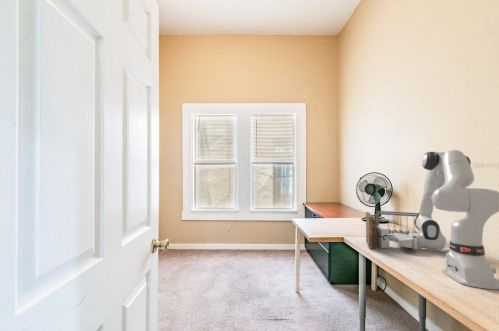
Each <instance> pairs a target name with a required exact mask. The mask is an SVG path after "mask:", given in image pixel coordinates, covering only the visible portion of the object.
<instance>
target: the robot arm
mask: <svg viewBox="0 0 499 331" xmlns="http://www.w3.org/2000/svg"><path fill="white" fill-rule="evenodd" d="M471 163H472V162H471V159H470V157H469V156H467V155H465V153H464V152H463V151H461V150H457V149H453V150H449V151H446V152H443V151H441V152H439V151H437V152H436V151H428V152H425V153H424V154H423V156H422V159H421V166H422V167H423V169H424V170H427V171H426V175H425V179H424V185H423V195H422V200H421V204H420V209H419V211H418V213H419V214H418V216H417V217H416V216H415V218H414V220H413V221H414V228H416V229H417V230H419V233H418V232H417V233H411V232H410V233H409V234H408V235H406V234H402V233H393V234H392V235H393V236H389V242H390V241H391V242H396V244H398V246H399V247H403V248H409V249H413V250H418V249H425V250H436V251H437V250H443V249H444V248H445V247H446V245H447V244H446V243H447V240H446V237H445V236H444V235H443V233H442V231H441V227H440V225H439V223H438V222H437V221H436V220H435V219H433V217H432V216H433V215H432V214H433V210H434V208H435V209H438V210H441V211H444V212H445V211H446V212H450V213H451V212H452V213H453V212H454V213H455V212H456V213H465V216H464V217H463V218H460V219H457V220H456V221H454V222H452V224H451V225H450V240H449V251H448V252H447V253H446V254H445V268H442V269H441V272H442V273H443V274H445V275H446V276H448V277H450V278H451V279H453V280H454V281H456V282H457V283H459V284H461V285H464V286H467V287H474V288H478V289H487V290H499V281H498V280H497V278H495V274H497V269H496V267H492V266H491V262H490V261H488V259H487V257H486V256H485V255H486V252H485V246H484V245H483V233H484V227H485V226H486V223H487V221H488V220H489V219H490V218H491V217H492V216H494V215H496V214H497V213H499V192H498V190H494V189H488V188H475V187H473V188H472V187H471V185H473V183H474V181H475V175H474V172H473V169H472V166H471ZM469 186H470V188H469Z"/></svg>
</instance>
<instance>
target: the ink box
mask: <svg viewBox="0 0 499 331" xmlns="http://www.w3.org/2000/svg"><path fill="white" fill-rule="evenodd" d="M389 229H390V227H389V228H388V227H386V226H384V225H379V226H377V247H379V248H380V249H390V241H389V235H390V234H389Z"/></svg>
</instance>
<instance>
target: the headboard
mask: <svg viewBox="0 0 499 331" xmlns="http://www.w3.org/2000/svg"><path fill="white" fill-rule="evenodd" d="M365 242H366V244H367V247H368V249H369V250H373V248H374V249H377V247H378V245H377V221H376V217H375V216H374V215H373V214H371V213H370V212H368V211H365Z"/></svg>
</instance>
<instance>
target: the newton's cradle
mask: <svg viewBox="0 0 499 331" xmlns="http://www.w3.org/2000/svg"><path fill="white" fill-rule="evenodd" d="M418 214H419V212H406V211H390V210H389V211H387V210H385V211H384V210H379V211H377V212H376V217H375V218H376V221H377V226H380V216H381V215H384V216H385V215H386V216H400V217H399V218H400V219H399V220H400V222H399V223H400V227H402V217H406V228H408V219H409V218H408V217H415V218H416V217H417V216H418ZM412 221H413V226H415V224H414V221H415V220H412ZM389 223H390V221H389V220H387V225H388V227H387V228H389V236H393V233H402V234H406V235H408V234H409V233H418V232H417V231H416V230H412V231H409V230H408V229H406V230H402V229H399V230H397V229H396V224H394V225H393V226H394V227H393V228H394V229H392V230H391V229H390V227H389Z"/></svg>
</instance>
